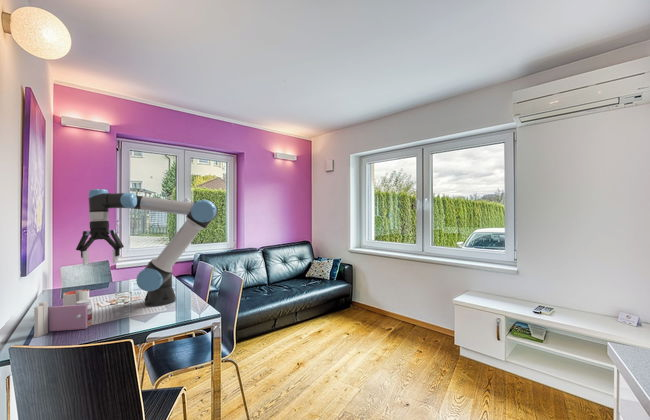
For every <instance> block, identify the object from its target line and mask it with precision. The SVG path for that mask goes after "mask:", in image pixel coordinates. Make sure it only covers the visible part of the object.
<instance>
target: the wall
mask: <svg viewBox="0 0 650 420" xmlns="http://www.w3.org/2000/svg"><path fill="white" fill-rule="evenodd" d="M77 290H78V291H76V302H78V301H81V300H87V291H83V290H84V289H77ZM48 302H49V301H42V302H39V304H38V306H35V307H33V313H34V317H33V318H34V319H33V320H34V322H33V323H34V324H33V325H34V326H33V327H34V328H33V329H34V330H33V332H34V333H33V334H34V335H33V336H34V338H40V337H42V336H44V335H47V334H48V333H49V332H48V307H49V305H48V304H49V303H48Z"/></svg>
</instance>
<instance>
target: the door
mask: <svg viewBox="0 0 650 420" xmlns="http://www.w3.org/2000/svg"><path fill="white" fill-rule="evenodd" d="M88 327H89V326H88V304H86V305H70V306H63V305H58V306H57V305H54V306H48V333H49V332H60V331H73V330H86V329H88Z"/></svg>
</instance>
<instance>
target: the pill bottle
mask: <svg viewBox="0 0 650 420" xmlns="http://www.w3.org/2000/svg"><path fill="white" fill-rule="evenodd" d="M90 303H91V299H89V300H81V301H78V302H76V305H86V304H88V327H90V326H92V325H93V305H91V304H90Z"/></svg>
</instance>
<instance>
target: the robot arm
mask: <svg viewBox="0 0 650 420" xmlns="http://www.w3.org/2000/svg"><path fill="white" fill-rule="evenodd" d="M109 209H129V210H130V209H132V210H139V211H142V210H143V211H148V212H149V211H150V212H156V213H157V212H158V213H165V214H166V213H167V214H175V215H183V216H185V217H186V221H185V222H184V223H183V224H182V226H181V227H180V228H179V230H178V231H177V232H176V233H175V235H173V237H172V238H171V240H169V242H168V244H167V245H166V246H165V248H163V250H162V251H161V252H160V254H159V255H158V256H157V257H156V258H152V259H151V260H150V261H149V262H147V263H148V264H147V265H146V266H145V268H143V269H141V271H140V272H139V273H138V274H137V276H136V279H135V281H136V285H137V287H138V288H139V289H140V290H142V291H145V292H146V294H145V295H146V296H145V297H144V306H147V307H159V306H165V305H169V304H172V303H174V302H175V301H176V300H177V296H176V293H175V290H174V288H173V267H174V265H175V264H176V262H178V260H179V259H180V257H181V256H182V255H183V253H184V252H185V250H187V248H188V247H189V246H190V245H191V243H192V242H193V240H194V239H195V238H196V236H197V235H198V234H199V233H200V231H201V230H205V229H207V228H208V226H209V225H210V224H211V222H212V220H215V219H216V217H217V216H218V214H219V213H218V212H219V209H218V206H217V204H215V203H214V202H212V201H210V200H208V199H200V200H197V201H196V200H193V201H192V202H190V201H182V200H174V199H167V198H159V197H152V196H151V197H150V196H145V195H143V196H142V195H137V194H135V193H133V192H119V193H118V192H116V193H109V191H108V189H103V188H95V189H93V188H92V189H89V191H88V210H89V211H88V212H89V213H88V216H89V217H88V219H89V229H90V230H83V231H82V236H81V238H80V240H79V242H78V244H77V246H76V248H75V250H76V251H80V258H81V259H82V265H83V266H85V265H89V263H90V262H89V250H88V249H89V248H90V246H91V245H92V244H93V242H95V241H97V240H103V241H106V242H107V243H108V244H109V245H110V246H111V248H112V249H113V250H112V263H113V264H117V263H119V256H120V249H122V248H124V244H123V242H122V241H121V239H120V237H119V235H118V234H117V230H116V229H111V230H110V221H109V218H110V215H109V213H110V212H109ZM110 235H111V236H110ZM89 236H90V237H89Z"/></svg>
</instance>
